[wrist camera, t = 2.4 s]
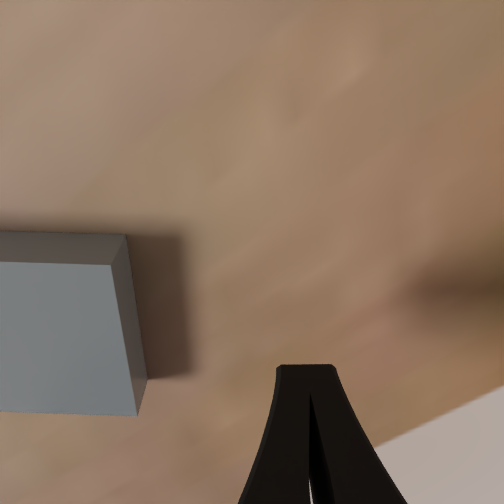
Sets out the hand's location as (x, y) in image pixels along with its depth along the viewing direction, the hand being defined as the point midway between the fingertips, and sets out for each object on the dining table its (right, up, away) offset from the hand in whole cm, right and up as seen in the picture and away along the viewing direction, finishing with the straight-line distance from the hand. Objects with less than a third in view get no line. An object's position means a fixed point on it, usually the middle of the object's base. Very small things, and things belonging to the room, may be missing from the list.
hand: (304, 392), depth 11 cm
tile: (-10, +2, +4) cm, 11 cm away
